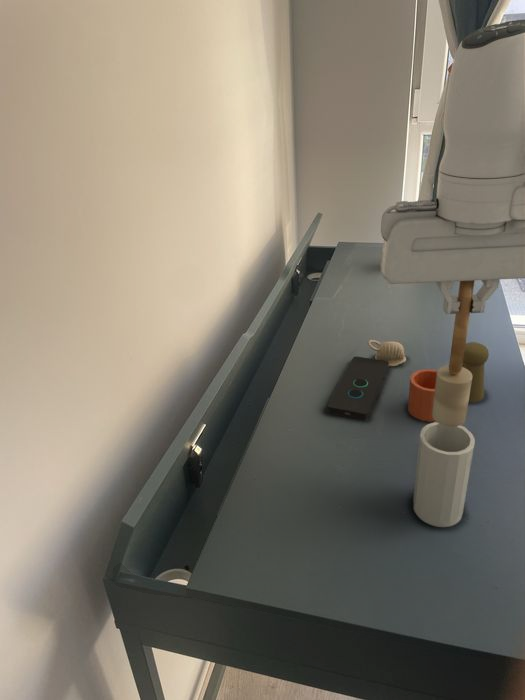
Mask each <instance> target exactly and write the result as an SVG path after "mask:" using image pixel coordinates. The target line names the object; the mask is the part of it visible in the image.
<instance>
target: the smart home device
mask: <svg viewBox="0 0 525 700" xmlns="http://www.w3.org/2000/svg"><path fill="white" fill-rule="evenodd" d="M389 367H390V366H389V362H388V361H383V360H377V359H375V358H370V357H362V356H357V355H356V356H353V357H352V359H351V361H350V362H349V364H348V366H347V367H346V369H345V371H344V373H343V375H342V377H341V379H340V380H339V382H338V385H337V386H336V388H335V390H334V392H333V394H332V395H331V397H330V398H329V401H328V403H327V413H328V414H331V415H336V416H341V417H345V418H350V419H356V420H357V419H358V420H361V421H366V420H368V419H369V417H370V414H371V412H372V410H373V408H374V406H375V403H376V401H377V398H378V395H379V393H380V391H381V389H382V386H383V384H384V381H385V379H386V377H387V374H388V371H389Z"/></svg>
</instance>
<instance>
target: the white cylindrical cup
mask: <svg viewBox="0 0 525 700" xmlns="http://www.w3.org/2000/svg"><path fill="white" fill-rule="evenodd" d="M475 443H476V439H475V437H474V435H473V433H472V432H471V431H470V430H468V428H466V427H465V426H462V425H460V426H456V427H448V426H444V425H441V424H439V423H437V422H436V421H433V422H431V423H427V424H426V425H425V426H423V427H422V428H421V430H420V433H419V439H418V450H417V459H416V460H417V461H416V470H415V471H416V472H415V481H414V491H413V498H412V499H413V500H412V501H413V503H412V505H413V511H414V513H415V514H416V516H417V517H418V518H419V519H420V520H421V521H422V522H424V523H426V524H428V525H430V526H433V527H437V528H447V527H452V526H454V525H455V526H456V524H458V523H459V522H460V521H461V520H462V519H463V515H464V510H465V509H464V508H465V502H466V496H467V491H468V484H469V479H470V473H471V467H472V461H473V455H474V449H475Z"/></svg>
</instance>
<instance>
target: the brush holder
mask: <svg viewBox="0 0 525 700" xmlns="http://www.w3.org/2000/svg"><path fill="white" fill-rule="evenodd" d="M437 371H438V369H432V368H423V369H419V370H416V371H414V372H413V373H412V374H411V375H410V377H409V385H408V386H409V388H408V400H407V410H408V412H409V414H410V415H411V416H412V417H413V418H415V419H417V420H419V421H423V422H431V423H433V422H436V421H435V420H434V419H433V417H432V410H433V402H434V393H435V384H436V376H437Z"/></svg>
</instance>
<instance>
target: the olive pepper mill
mask: <svg viewBox="0 0 525 700" xmlns="http://www.w3.org/2000/svg"><path fill="white" fill-rule="evenodd" d="M489 354H490V353H489V349H488V348H487V346H486V345H484V344H483V343H481V342H476V341H475V342H473V341H471V342H466V344H465V351H464V358H463V365H462V367H463V368H466V369H467V370H469V371H470V372H471V373H472V383H471V389H470V396H469V402H468V403H478V402H480V401H482V400H483V399H484V398H485V363H487V361H488V359H489Z"/></svg>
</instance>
